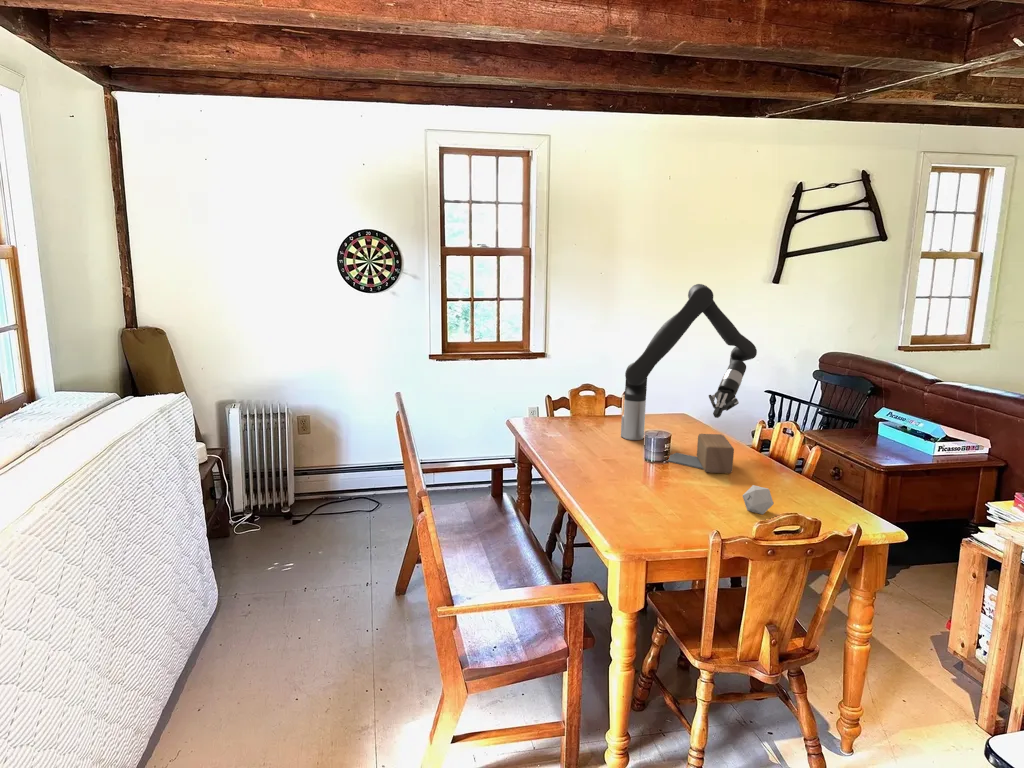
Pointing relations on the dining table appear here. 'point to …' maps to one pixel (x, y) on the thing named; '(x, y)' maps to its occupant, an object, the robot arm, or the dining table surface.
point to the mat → (685, 460)
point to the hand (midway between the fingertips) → (715, 416)
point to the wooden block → (715, 453)
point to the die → (758, 499)
